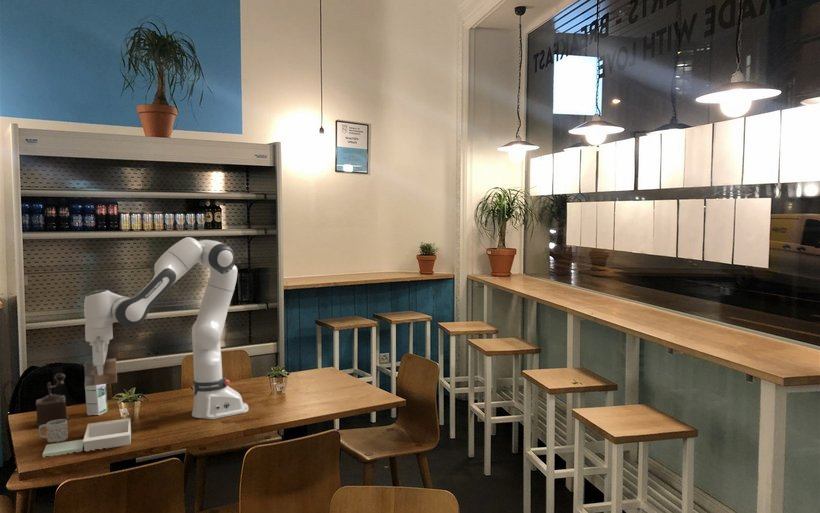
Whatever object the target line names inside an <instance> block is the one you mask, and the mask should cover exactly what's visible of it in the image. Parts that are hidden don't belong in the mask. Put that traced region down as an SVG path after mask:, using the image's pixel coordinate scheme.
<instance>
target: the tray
mask: <svg viewBox="0 0 820 513" xmlns="http://www.w3.org/2000/svg"><path fill="white" fill-rule="evenodd" d="M131 424H132V423H131V417H129V418H128V417H127V418H121V419H113V420H107V421H105V420H104V421H98V422H91V423H87V425H86V429H85V432H84V436H83V439H84V440H83V443H84V447H83V450H84V451H86V452H91V451H90V450H92V451H96V450H95V449H99V450H104V449H103V448H105V449H110V448H117V447H123V446H130V445H131V440H132V439H131V438H132V427H131V426H132V425H131Z"/></svg>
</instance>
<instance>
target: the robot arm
mask: <svg viewBox="0 0 820 513" xmlns="http://www.w3.org/2000/svg"><path fill="white" fill-rule="evenodd" d="M235 257H236V256H235V252H234V249H232V247H231V246H229V245H227V244H226V243H222V242H220V241H217V240H211V239H208V238H206V239H205V238H203V239H202V238H201V239H196V238H194V237H189V236H186V237H185V238H182V239H181V240H179V241H177V242H176V243H174V244H173V245H172V246H170V247H169V248H168V249H167V250H166V251H164V252H163V253H162V255H161V256H160V257H159V258H158V259H157V260H156V262H155V263H154V266H153V267H154V268H153V270H154V276H153V278H152V279H151V280H150V282H149V283H147V284H146V286H144V288H142V290H140V292H139V293H138V294H136V295H134V296H133V297H129V296H123V295H121V294H117V293H114V292H112V291H110V290H108V289H105V288H103V289H97V290H92V291H90V292H88V293H87V294H86V295H85V297H84V303H83V314H84V315H83V316H84V319H85V325H84V333H85V334H84V336H85V342H88V343H89V346H90V347H91V346H92V348H91V349H92V352H91V353H92V360H93V365H94V366H97V373H98V375H103V365H104V364H105V360H106V359H107V356H108V351H109V349H108V348H109V344H110V341H111V340H112V339H114V335H113V334H114V333H113V331H114V330H113V324H114V323H119V324H120V325H121V326H123V327H125V328H136V327H138V326H140V325H142V323H143V322H144V321H145V320H146V318H147V316H148V313H149V311H150V310H151V308H152V307H153V306H154V305H155V303H157V301H158V300H159V299H160V298H161V297H162V296H163V295H164V294H165V293H166V292H167V291H168V290H169V288H170V287H171V286H173V285H174V284H175V283H176V282H177V281H178V280H180V278H182V277H183V276H184V275H186V273H188V271H189V270H191V268H193V267H194V266H195V265H196V264H199V265H201V266H203V267H205V268H208V269H209V278H208V279H207V280H208V281H207V283H206V287H205V289H204V291H203V292H204V293H203V295H202V299H201V303H200V306H199V310H198V313H197V317H196V320H195V322H194V323H193V325H192V327H191V341H192V359H193V360H192V361H193V364H192V365H193V377H194V378H193V379H194V380H193V383H192V388H193V395H194V396H193V407H192V412H191V417H192V418H197V419H207V420H215V419H220V418H224V417H225V418H226V417H230V416H235V415H240V414H245V413H247V412H249V410H250V409H249V404H247V403H245V402H243V398H242V397H243V396H241V394H240V393H239V392H238V391H237V390H235V389H233V388H232V387H230V386H229V385H230V384H231V382H230V380H229V379H228V378H226V377H223V364H222V363H223V361H222V349H221V338H222V335H223V331H224V327H225V324H226V320H227V319H226V318H227V317H228V311H229V308H230V305H231V301H232V298H233V296H234V293H235V290H236V288H235V287H236V284H237V279H238V267H237V266H236V265H235Z"/></svg>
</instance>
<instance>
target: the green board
mask: <svg viewBox="0 0 820 513" xmlns="http://www.w3.org/2000/svg"><path fill="white" fill-rule="evenodd" d="M83 440H84V438H83V439H75V440H70V441H61V442H56V443H49V444H46V445H45V447H44V450H43V452H42V458H46V457H45V456H50V457H55V456H62V454H63V455H68V454H67V453H69V454H74V453H73V452H76V453H82V452H83V450H84V443H83ZM81 451H82V452H81ZM54 455H55V456H54Z"/></svg>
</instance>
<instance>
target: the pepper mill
mask: <svg viewBox="0 0 820 513" xmlns="http://www.w3.org/2000/svg"><path fill="white" fill-rule="evenodd" d="M65 378H66V374H65V373H61V372H59V373H56V374H55V375H54V379H55V381H56V384H55V385H52V382H50V381H49V382H47V390H48V395H46V396H44V397H42V398H39V399H36V400H35V401H36V402H35V408H36V423H37V429H39V426H41V425H44V424H46V423H47V422H50V421H53V420H58V419H66V420H67V423H68V422H69V421H68V420H69V418H70V417H69V416H68V414H67V404H66V402H67V401H66V395H64V394H62V395H61V393H59V394H56V393H53V394H52V389H53V388H56V387H58V386H60V387H61V386H62V385H64V384H65V382H64V381H65Z"/></svg>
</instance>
